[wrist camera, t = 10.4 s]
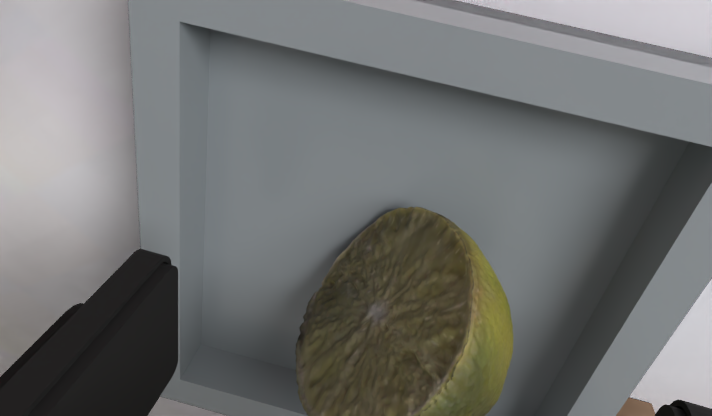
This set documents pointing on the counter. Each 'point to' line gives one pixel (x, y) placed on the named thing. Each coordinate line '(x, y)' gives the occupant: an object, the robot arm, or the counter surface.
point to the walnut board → (636, 408)
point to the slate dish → (419, 181)
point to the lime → (406, 325)
